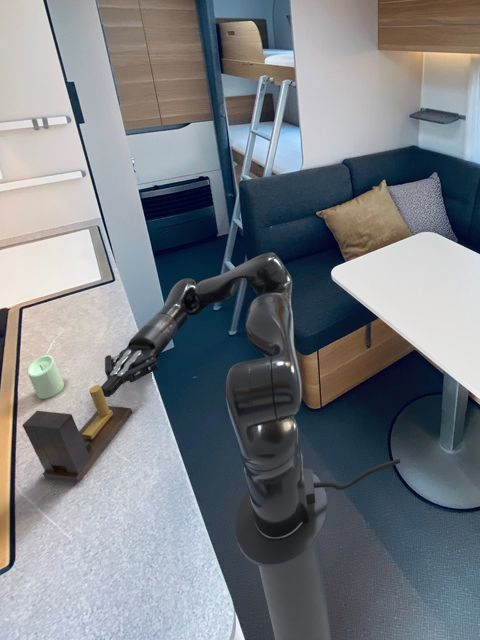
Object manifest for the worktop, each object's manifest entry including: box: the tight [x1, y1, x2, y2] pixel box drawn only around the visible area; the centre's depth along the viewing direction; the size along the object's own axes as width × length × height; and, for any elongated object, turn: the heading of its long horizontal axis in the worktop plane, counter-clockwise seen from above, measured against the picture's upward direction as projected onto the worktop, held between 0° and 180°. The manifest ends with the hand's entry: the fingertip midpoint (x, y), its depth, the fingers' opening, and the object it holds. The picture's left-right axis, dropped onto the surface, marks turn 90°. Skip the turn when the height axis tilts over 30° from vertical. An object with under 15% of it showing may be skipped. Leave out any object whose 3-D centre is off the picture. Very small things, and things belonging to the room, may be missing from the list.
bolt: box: [82, 384, 113, 439], centre depth 83 cm, size 6×2×8 cm, turn 173°
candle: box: [26, 354, 65, 400], centre depth 94 cm, size 5×5×8 cm
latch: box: [22, 405, 133, 484], centre depth 80 cm, size 15×7×14 cm, turn 173°
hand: (103, 394), depth 86 cm, fingers closed
